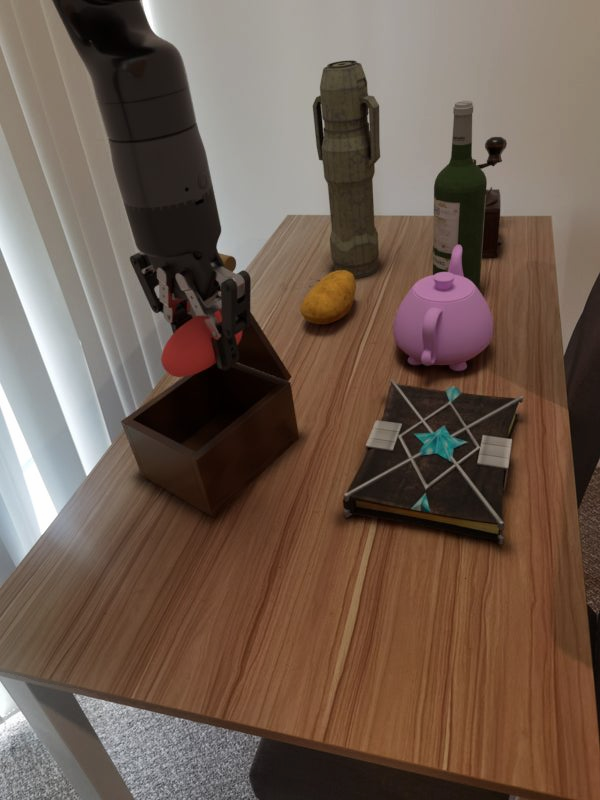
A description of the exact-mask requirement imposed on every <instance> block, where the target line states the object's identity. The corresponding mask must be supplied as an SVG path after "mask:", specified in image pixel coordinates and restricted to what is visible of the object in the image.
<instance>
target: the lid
mask: <svg viewBox="0 0 600 800" xmlns="http://www.w3.org/2000/svg"><path fill="white" fill-rule="evenodd" d="M218 253H219V255H220V257H221V259H222V261H223V263H224V267H225V268H226V269H228V270H230V271H232V272H233V273H234V271H235V269H237V268H236V267H237V260H236V258H235V257H234V256H232V255H229V254H223V253H220V252H218ZM215 298H216V295H214V296H212V297H211V298H209V299H207V300H206V301H204V304H205V305H207V304H209V303H211V302H212V301H214V300H215ZM187 314H190V315H192V317H193V318H194V317H196V314H195V312H194V310H193V308H192V305H191V303H190V312H188V313H187ZM236 317H237V316H236ZM237 347H238V351H239V360H238V361H237V363H239V364H242V365H245V366H247V367H250V368H253V369H255V370H258V371H261V372H264V373H266V374H269V375H272V376H274V377H277V378H280V379H282V380H285V381H288V382H290V380H291V378H292V375H291V374H290V372H289V370H288V369H287V367H286V365H285V364H284V363H283V361H282V359H281V358H280V356H279V354H278V353H277V351H276V350H275V348H274V347H273V345H272V343H271V342H270V340H269V339H268V337H267V335H266V334H265V332H264V331H263V329H262V327H261V326H260V325H259V322H258V321H257V319H256V318H255V316H254V315H253V313H252V312H251V311H250V326H249V327H247V328H246V329H243V330H242V337H241V340H240V342H239V343H238V345H237Z"/></svg>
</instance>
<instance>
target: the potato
mask: <svg viewBox="0 0 600 800" xmlns="http://www.w3.org/2000/svg"><path fill="white" fill-rule="evenodd" d="M356 291H357V284H356V278H354V276H353V274H352V273H350V272H348V271H346V270H337V271H332V272H329V273H327V274H326V275H325V276H324V277H323V278H322V279H321V280H319V282H317V283H316V284H315V285H314V286H313V287H312V288H311V290H310V291H309V292H308V293H307V294H306V295H305V297H304V299H303V300H302V302H301V305H300V310H299V311H300V313H301V315H302V317H303V318H304V319H305V320H306V321H308V322H310V323H313V324H316V325H328V324H331V323H333V322H336V321H339V320H340V319H342V318H343V317H345V316H346V314H348V313H349V312H350V310H351V308H352V306H353V303H354V300H355V296H356Z"/></svg>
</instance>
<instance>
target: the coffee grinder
mask: <svg viewBox="0 0 600 800" xmlns="http://www.w3.org/2000/svg"><path fill="white" fill-rule="evenodd" d="M507 145H508V142H507V140H506V138H504V137H503V136H491V137H490V138H488V139H486V141H485V143H484V148H485V149H484V150H485V151H486V152H487V154H488V156H487V159H486V162H485V163H480V164H477V159H476V158H475V159H474V158H472V159H473V162H474V163H475V164H476V165H477V166H478V167H479V168H480V169H481V170H482V169H485V168H487V167H490V166H492V167H495V166H496V165H497V164H499V163H502V162H503V159H502V154H503V153H504V150H505V149H506V148H507ZM501 202H502V201H501V192H500V189H499V188H498V189H497V188H495V189H493V186H491V187H490V188H489V189H487V188H486V201H485V216H484V230H483V245H482V259H488V258H489V259H490V258H498V257H499V249H500V246H502V238H500V222H501V209H502V207H501Z"/></svg>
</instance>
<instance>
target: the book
mask: <svg viewBox="0 0 600 800" xmlns="http://www.w3.org/2000/svg"><path fill="white" fill-rule="evenodd" d="M523 402H524V396H522V395H520V396H518V397H506V396H494V395H485V394H483V395H482V394H477V393H476V394H474V393H467V392H461V391H460V389H459V388H457V387H456V386H455V385H452V386H451V387H449V388H447V389H446V390H444V389H436V388H435V389H434V388H427V387H422V386H415V385H409V384H403V383H397V382H395V380H394V379H390V385H389V386H388V392H387V396H386V401H385V404H384V410H383V414H382V417H381V419H380V420H378V419H376V420H375V421H374V424H373V426H372V429H371V431H370V433H369V436H368V439H367V441H366V443H365V455H364V458H363V460H362V463H361V464H360V466H359V468H358V470H357V471H356V473H355V475H354V478H353V479H352V481H351V483H350V485H349V487H348V489H347V491H346V492H345V493H344V494H343V499H342V506H343V509H344V510H343V514H344V517H345V518H346V519H347V518H349V517H350V516H352V515H354V516H361V517H366V518H367V517H368V518H372V519H373V518H374V519H380V520H387V521H392V522H393V521H394V522H399V523H404V524H409V525H410V524H411V525H414V526H419V527H425V528H431V529H435V530H440V531H445V532H450V533H451V532H452V533H457V534H460V535H466V536H470V537H475V538H480V539H484V540H489V541H493V542H497V543H498V545H499V546H501V545H503V544H504V539H505V538H504V536H503V535H502V534H501V530H504V524H505V522H504V521H503V518H504V516H503V515H504V512H503V511H504V492H506V488H507V483H508V482H507V481H508V475H509V473H508V472H509V466H510V461H511V460H510V459H511V452H512V444H513V439H512V438H511V437H512V434H513V432H514V428H515V425H516V422H517V420H518V419H519V418H520V413H519V412H518V411H517V409H518V406H519V403H520V404H523Z"/></svg>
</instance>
